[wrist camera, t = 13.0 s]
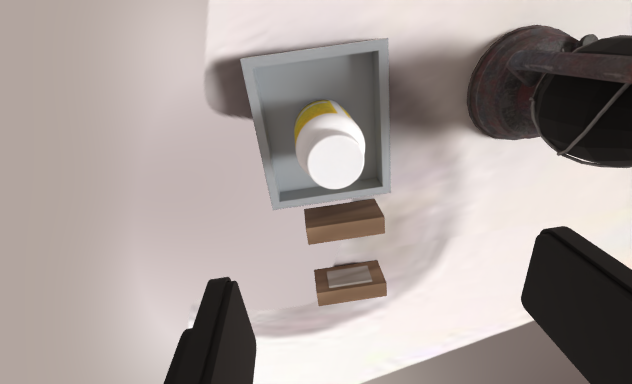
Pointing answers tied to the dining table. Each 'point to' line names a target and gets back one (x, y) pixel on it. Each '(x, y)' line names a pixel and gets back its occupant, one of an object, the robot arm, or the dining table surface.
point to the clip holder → (338, 226)
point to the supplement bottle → (329, 144)
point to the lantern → (558, 93)
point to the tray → (312, 84)
